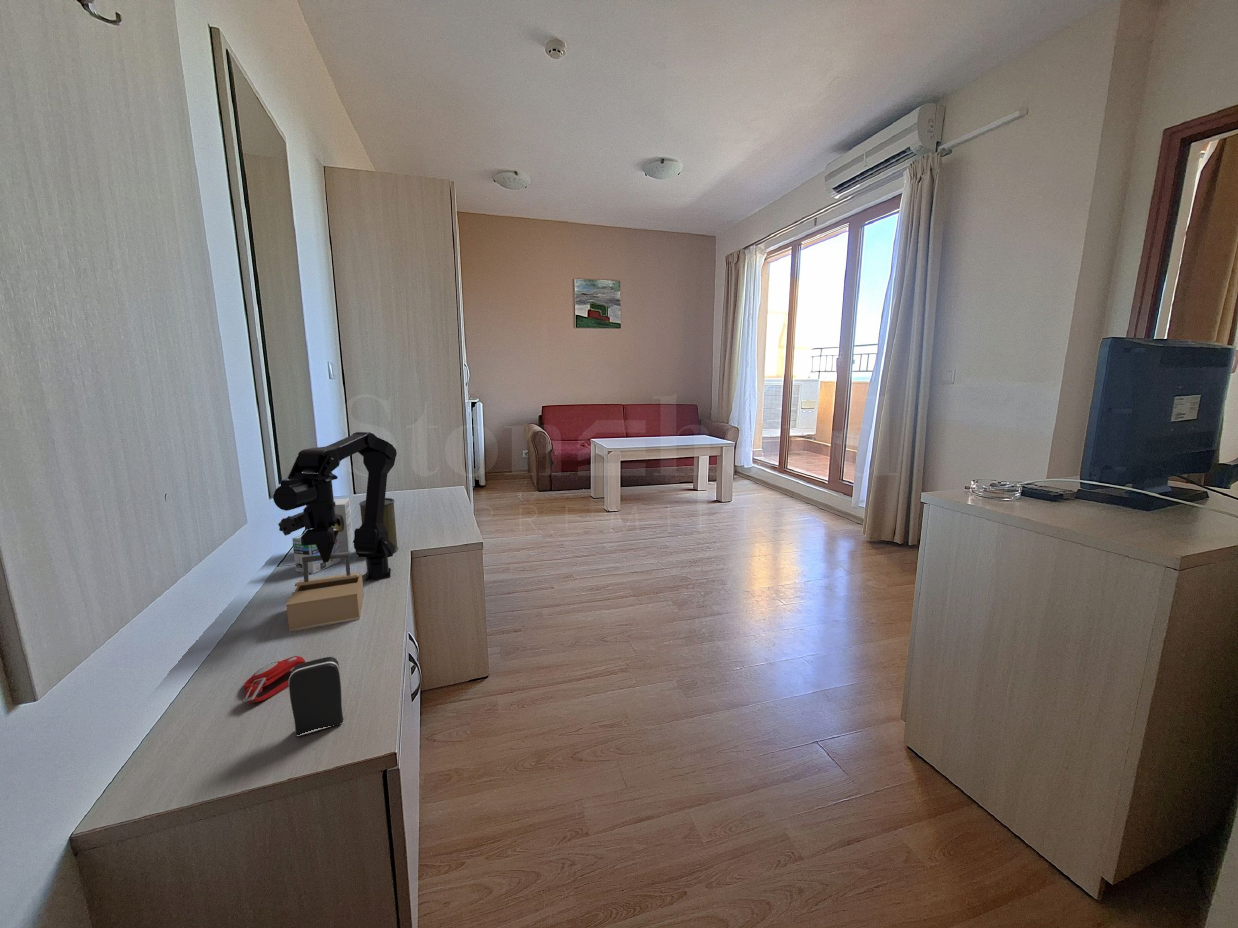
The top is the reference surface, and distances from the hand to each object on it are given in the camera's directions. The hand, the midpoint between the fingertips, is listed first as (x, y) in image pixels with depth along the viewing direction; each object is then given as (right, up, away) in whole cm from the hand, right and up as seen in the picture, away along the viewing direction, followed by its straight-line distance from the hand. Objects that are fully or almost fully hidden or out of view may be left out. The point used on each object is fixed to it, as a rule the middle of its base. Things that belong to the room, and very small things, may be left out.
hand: (326, 562), depth 115 cm
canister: (-8, -5, +42) cm, 43 cm away
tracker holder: (+7, -18, -28) cm, 34 cm away
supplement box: (-24, -5, +43) cm, 49 cm away
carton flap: (-1, -5, +2) cm, 6 cm away
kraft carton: (+1, -12, 0) cm, 12 cm away
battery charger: (+23, -19, -38) cm, 48 cm away
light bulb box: (-20, -8, +28) cm, 36 cm away
